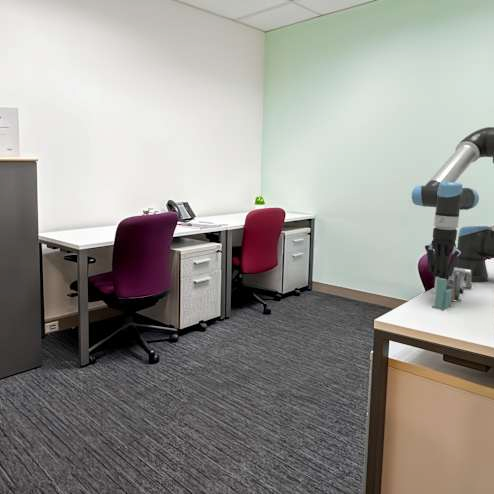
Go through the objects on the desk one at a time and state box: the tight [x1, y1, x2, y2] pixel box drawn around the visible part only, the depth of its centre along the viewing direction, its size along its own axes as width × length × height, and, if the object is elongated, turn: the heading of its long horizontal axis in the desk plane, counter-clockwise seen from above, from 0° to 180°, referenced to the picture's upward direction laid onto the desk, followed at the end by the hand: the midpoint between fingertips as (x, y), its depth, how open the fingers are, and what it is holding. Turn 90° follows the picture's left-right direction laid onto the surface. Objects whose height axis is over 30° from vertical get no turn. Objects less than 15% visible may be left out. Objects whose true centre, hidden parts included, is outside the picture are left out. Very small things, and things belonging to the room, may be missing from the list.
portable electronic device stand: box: [448, 268, 474, 289], centre depth 189 cm, size 9×8×8 cm
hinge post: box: [451, 271, 462, 303], centre depth 169 cm, size 4×4×10 cm
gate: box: [446, 283, 456, 302], centre depth 164 cm, size 11×2×6 cm, turn 133°
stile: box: [431, 278, 453, 311], centre depth 160 cm, size 6×4×10 cm, turn 137°
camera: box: [447, 279, 465, 294], centre depth 184 cm, size 5×10×4 cm, turn 16°
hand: (437, 294), depth 165 cm, fingers closed
